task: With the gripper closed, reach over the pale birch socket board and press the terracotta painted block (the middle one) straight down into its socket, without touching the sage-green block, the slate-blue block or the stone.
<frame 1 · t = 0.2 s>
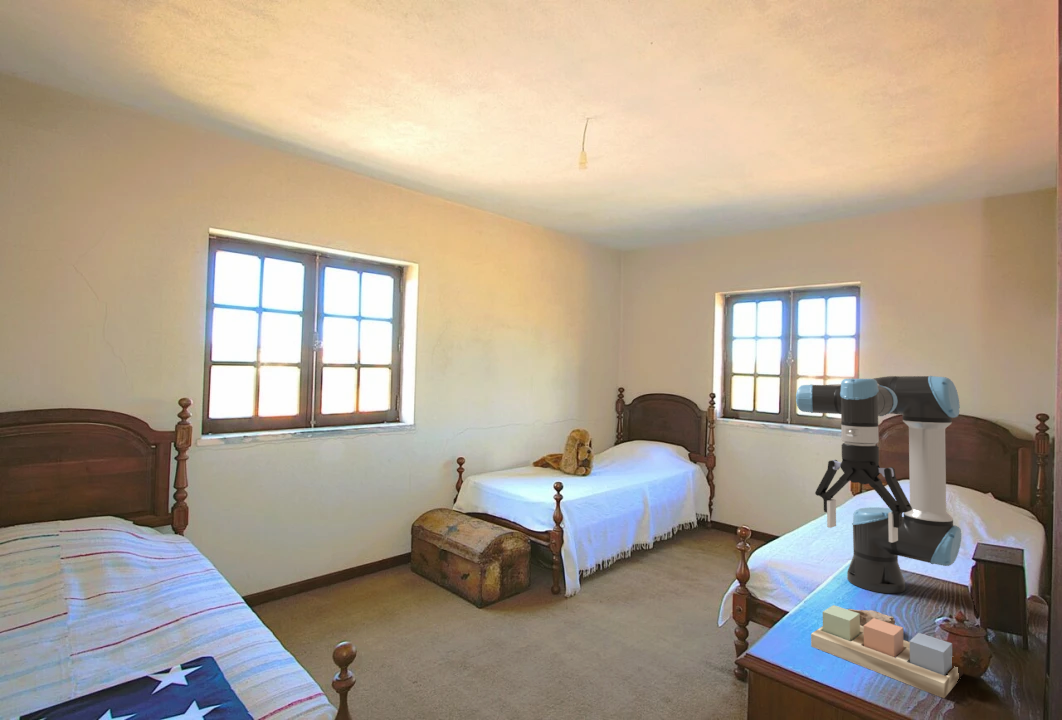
hand: (861, 533, 126), 28 cm above the table, fingers open, 13 cm apart
socket board: (883, 659, 122), on the table
stone: (872, 631, 136), on the table
slate block: (930, 653, 115), point 5 cm above the table, slide at 0.0 cm
sage block: (841, 623, 129), point 5 cm above the table, slide at 0.0 cm
terracotta block: (883, 637, 122), point 5 cm above the table, slide at 0.0 cm
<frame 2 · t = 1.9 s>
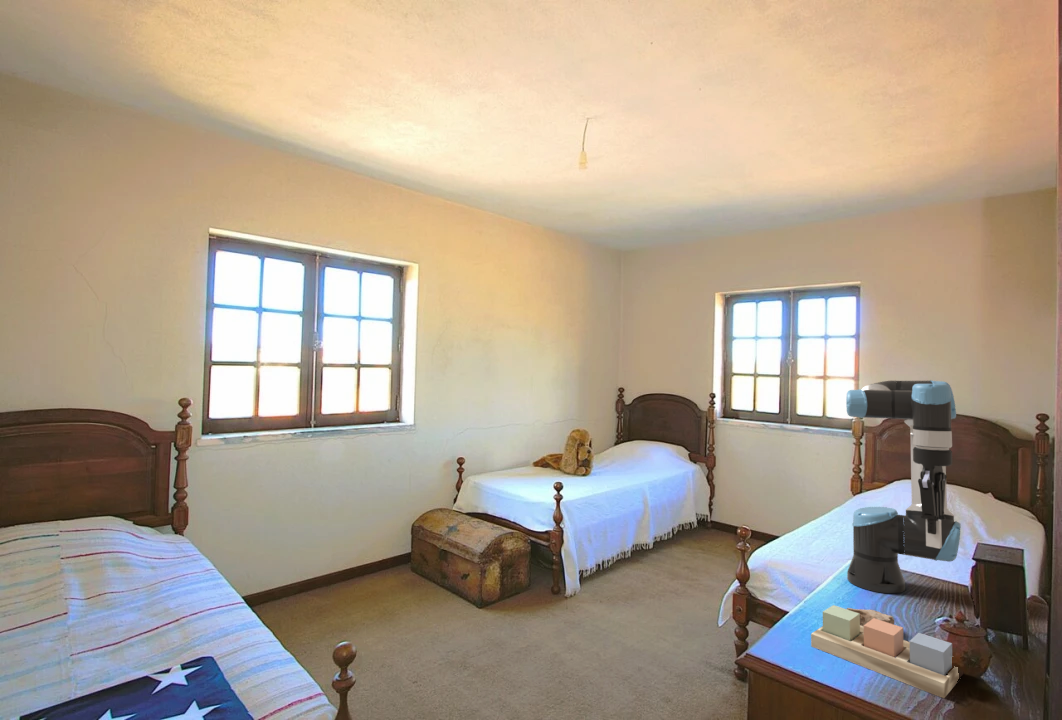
hand: (933, 546, 127), 24 cm above the table, fingers closed
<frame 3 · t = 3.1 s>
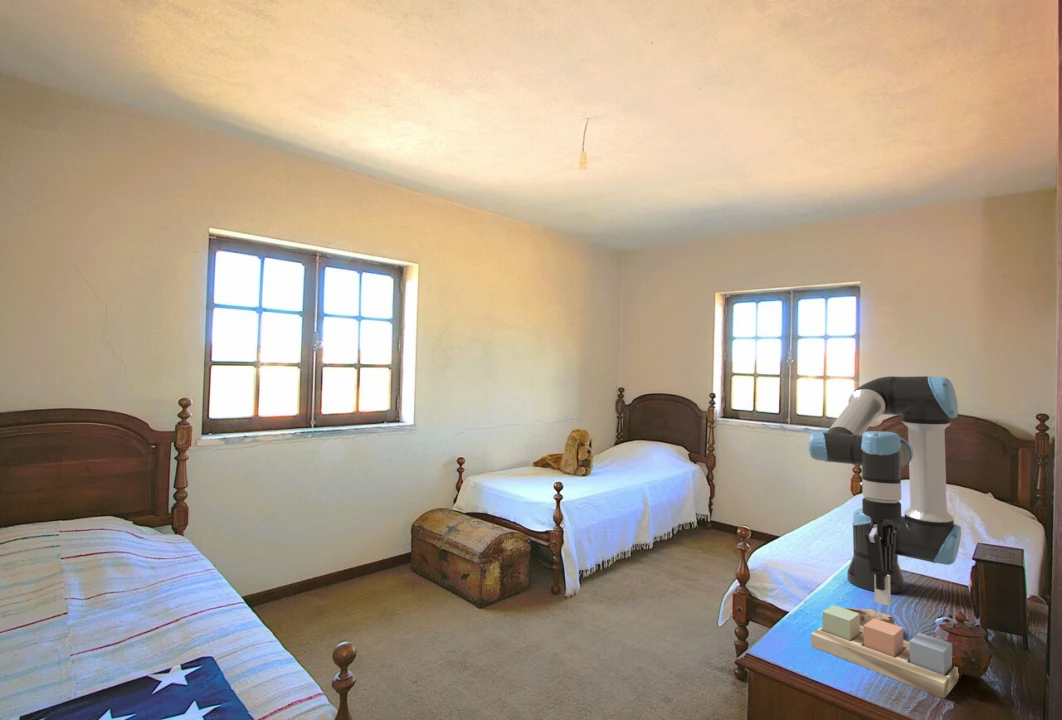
hand: (882, 602, 122), 13 cm above the table, fingers closed
nothing on the table moved.
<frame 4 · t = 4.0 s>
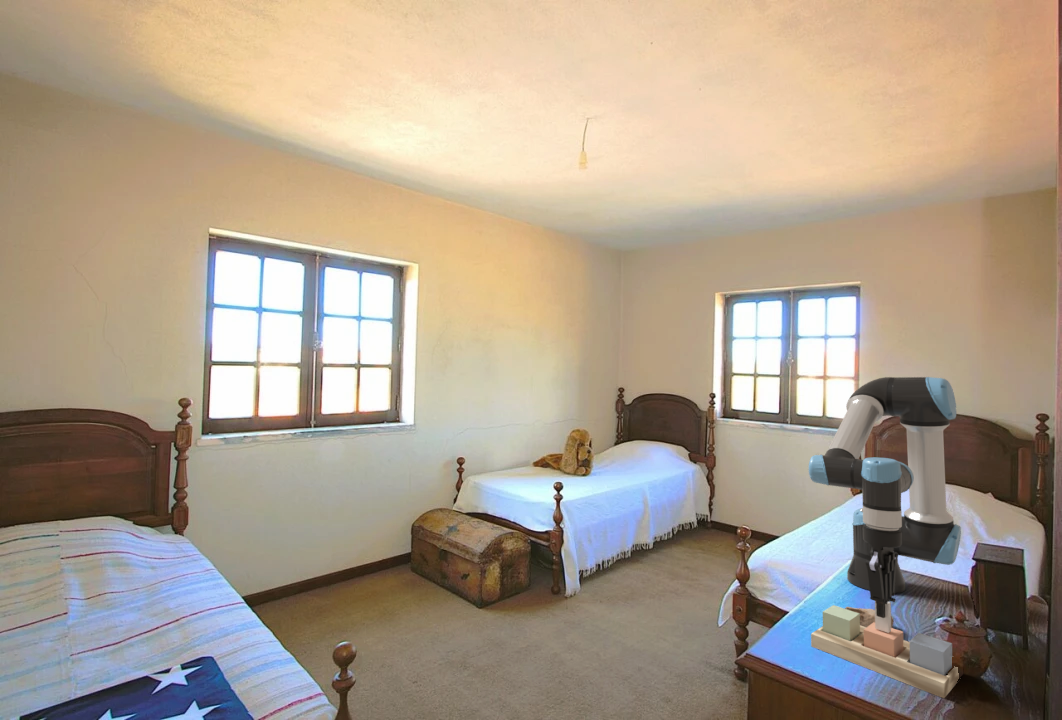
hand: (883, 629, 122), 7 cm above the table, fingers closed
terracotta block: (883, 641, 122), point 4 cm above the table, slide at 0.9 cm, touching gripper
everything else where it was.
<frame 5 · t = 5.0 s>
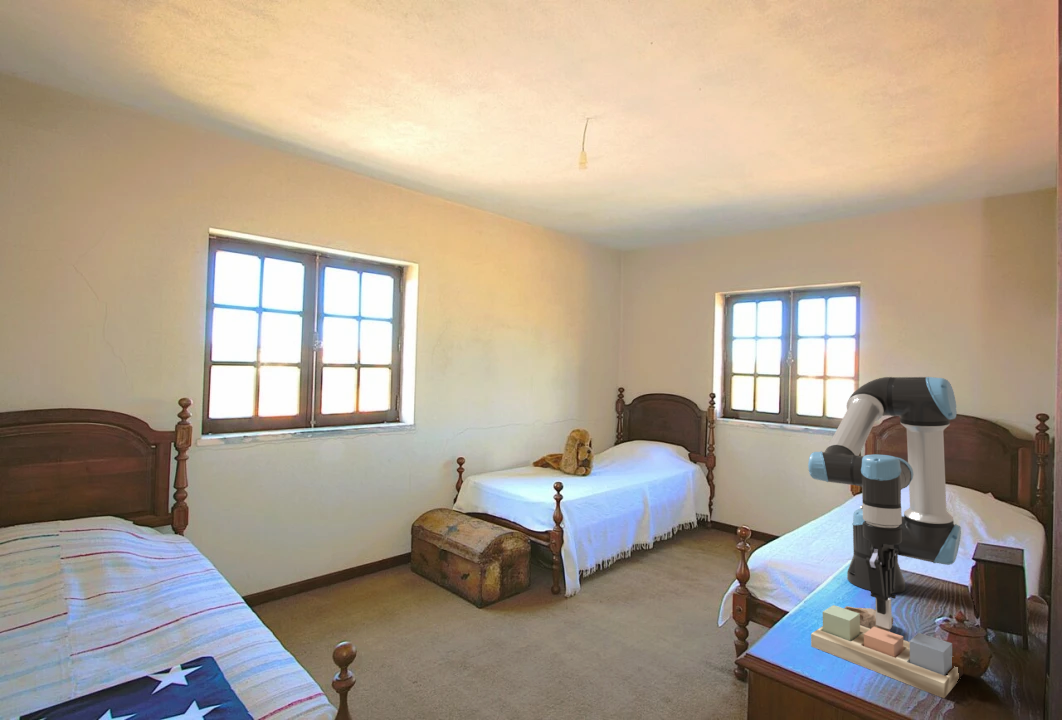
hand: (883, 625, 122), 8 cm above the table, fingers closed
terracotta block: (883, 646, 122), point 3 cm above the table, slide at 2.0 cm
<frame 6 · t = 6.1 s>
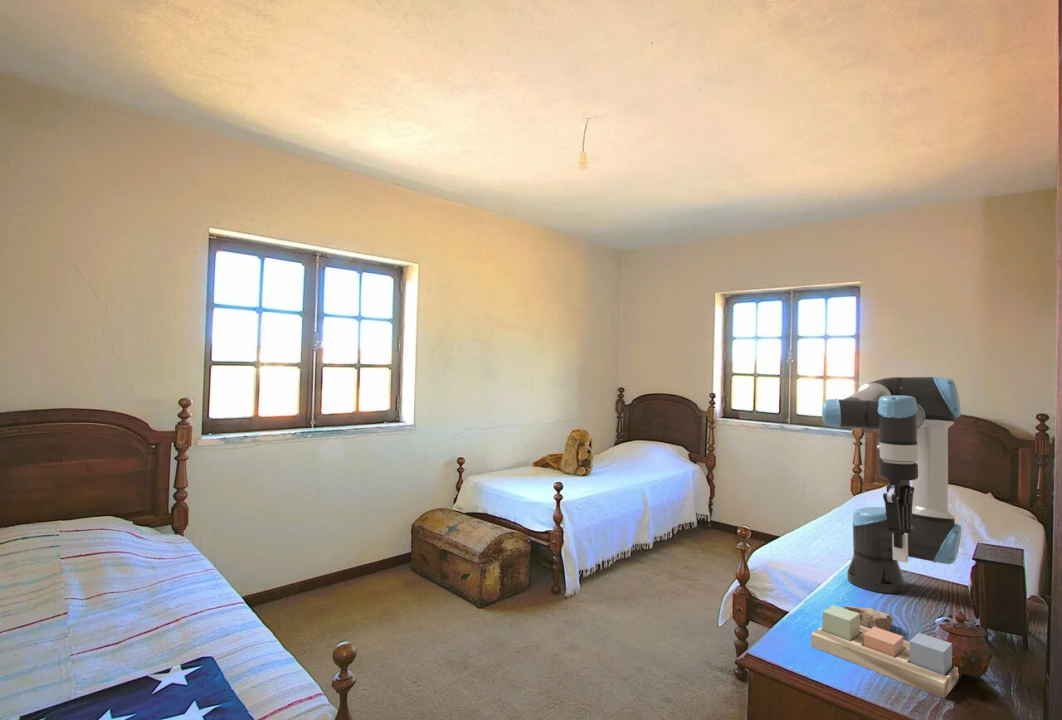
hand: (900, 560, 126), 21 cm above the table, fingers closed
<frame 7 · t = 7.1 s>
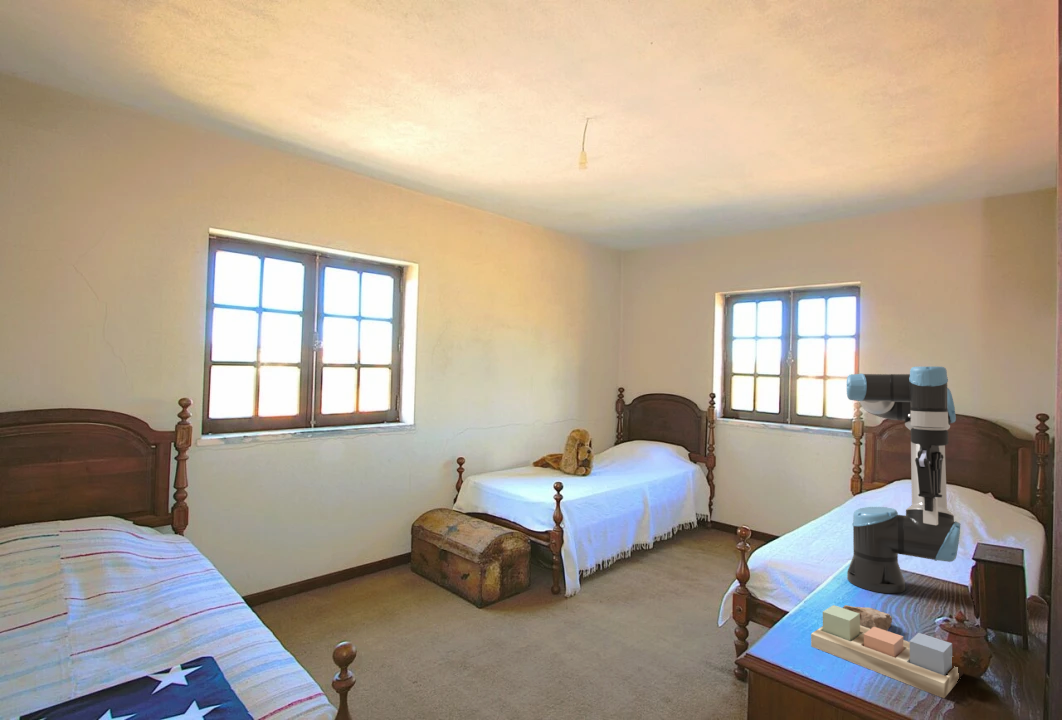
hand: (930, 523, 132), 28 cm above the table, fingers closed
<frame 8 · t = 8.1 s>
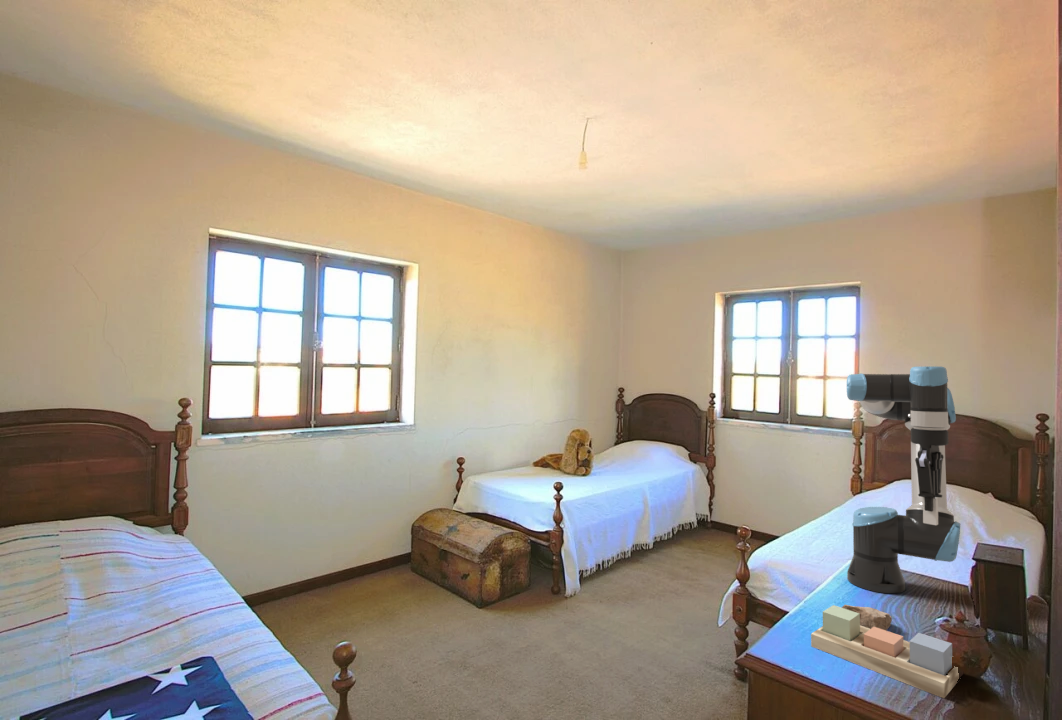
hand: (930, 523, 132), 28 cm above the table, fingers closed
at the end: terracotta block slide at 2.0 cm; sage block slide at 0.0 cm; slate block slide at 0.0 cm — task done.
